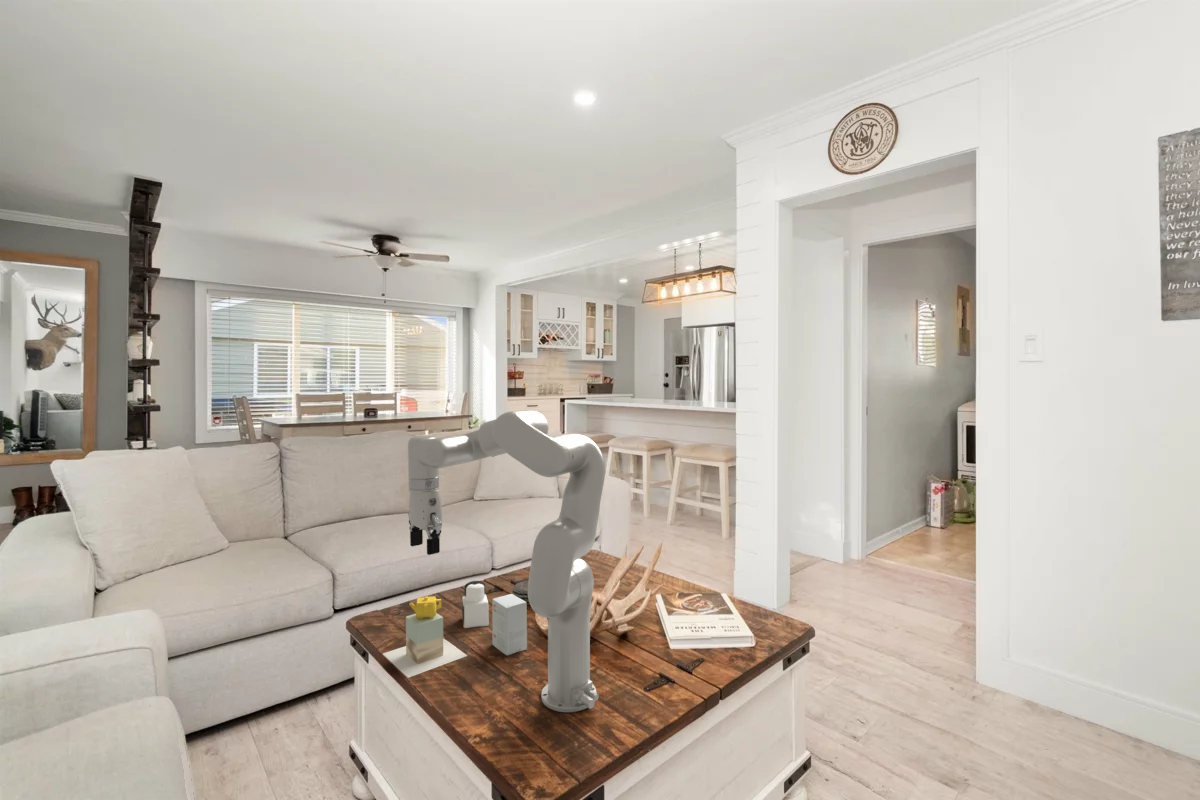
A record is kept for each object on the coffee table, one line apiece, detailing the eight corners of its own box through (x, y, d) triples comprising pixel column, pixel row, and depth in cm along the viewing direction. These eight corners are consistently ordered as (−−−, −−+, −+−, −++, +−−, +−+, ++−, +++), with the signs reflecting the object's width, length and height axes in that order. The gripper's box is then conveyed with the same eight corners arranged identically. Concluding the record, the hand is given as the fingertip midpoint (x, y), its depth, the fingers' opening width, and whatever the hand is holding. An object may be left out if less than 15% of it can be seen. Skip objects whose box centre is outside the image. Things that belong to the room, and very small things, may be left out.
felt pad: (467, 657, 145) (467, 655, 145) (408, 679, 135) (408, 677, 134) (439, 636, 157) (439, 634, 157) (382, 655, 146) (382, 653, 146)
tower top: (443, 636, 145) (443, 617, 145) (417, 644, 141) (417, 625, 141) (431, 627, 151) (430, 609, 150) (406, 635, 146) (405, 616, 146)
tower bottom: (443, 655, 146) (443, 636, 145) (417, 664, 141) (417, 644, 141) (431, 645, 151) (431, 627, 151) (406, 654, 146) (405, 635, 146)
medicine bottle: (462, 619, 168) (461, 580, 168) (486, 616, 170) (485, 577, 170) (463, 629, 161) (463, 588, 161) (488, 626, 164) (488, 585, 163)
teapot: (408, 623, 141) (408, 603, 141) (410, 614, 147) (409, 595, 147) (441, 620, 143) (440, 600, 143) (441, 611, 149) (441, 592, 149)
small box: (527, 649, 149) (527, 601, 149) (506, 657, 145) (506, 608, 145) (512, 638, 156) (511, 592, 155) (491, 645, 152) (491, 598, 151)
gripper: (453, 486, 140) (454, 553, 141) (422, 477, 153) (423, 539, 154) (425, 490, 135) (425, 560, 136) (396, 481, 148) (396, 545, 149)
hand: (424, 549), depth 145 cm, fingers open, 9 cm apart
